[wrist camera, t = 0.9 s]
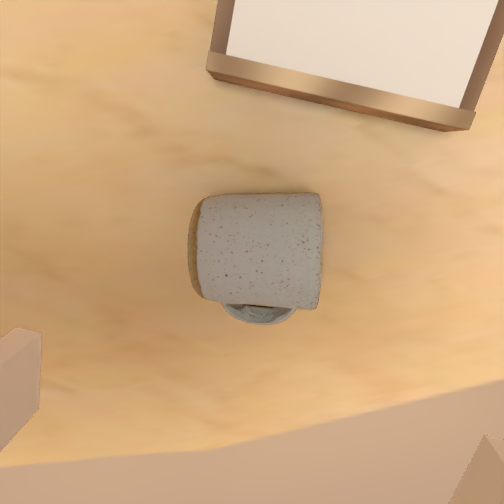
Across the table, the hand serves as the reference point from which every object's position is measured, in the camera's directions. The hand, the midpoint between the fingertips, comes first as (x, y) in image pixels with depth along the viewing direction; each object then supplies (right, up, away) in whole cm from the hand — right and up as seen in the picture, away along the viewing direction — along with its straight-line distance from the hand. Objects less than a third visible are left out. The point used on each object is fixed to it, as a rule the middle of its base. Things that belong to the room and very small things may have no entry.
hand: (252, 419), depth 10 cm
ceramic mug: (+1, +5, +17) cm, 18 cm away
